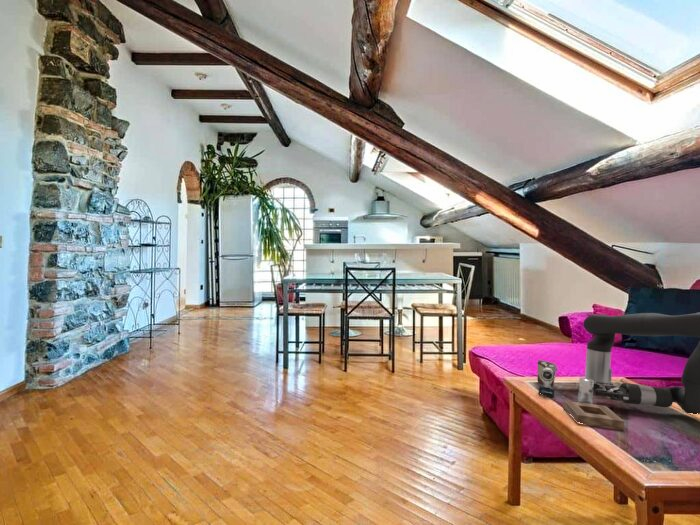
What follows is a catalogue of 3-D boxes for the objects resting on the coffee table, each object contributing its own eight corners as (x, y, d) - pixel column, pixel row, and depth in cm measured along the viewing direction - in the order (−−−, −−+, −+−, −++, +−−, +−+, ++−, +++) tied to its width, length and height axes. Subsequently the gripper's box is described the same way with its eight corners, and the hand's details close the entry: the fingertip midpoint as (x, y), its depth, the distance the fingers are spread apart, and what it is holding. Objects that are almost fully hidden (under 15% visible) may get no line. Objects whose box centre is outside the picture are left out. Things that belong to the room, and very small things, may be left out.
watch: (538, 395, 155) (540, 369, 155) (539, 390, 162) (541, 365, 162) (553, 398, 152) (555, 371, 152) (554, 393, 159) (556, 367, 159)
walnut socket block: (605, 415, 139) (605, 405, 139) (623, 431, 125) (624, 421, 125) (563, 409, 142) (564, 400, 142) (577, 425, 128) (577, 414, 128)
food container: (560, 391, 162) (562, 368, 162) (545, 389, 163) (547, 366, 163) (550, 382, 174) (551, 361, 174) (536, 381, 175) (537, 359, 175)
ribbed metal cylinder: (589, 403, 149) (590, 378, 149) (594, 407, 144) (595, 382, 144) (575, 401, 150) (577, 376, 150) (580, 406, 146) (582, 380, 146)
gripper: (628, 379, 150) (583, 374, 154) (648, 390, 136) (598, 384, 140) (627, 397, 150) (582, 392, 154) (647, 411, 136) (597, 404, 140)
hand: (590, 388), depth 147 cm, fingers open, 8 cm apart
